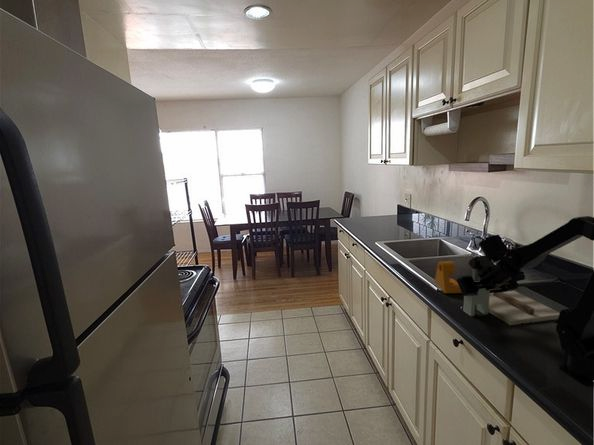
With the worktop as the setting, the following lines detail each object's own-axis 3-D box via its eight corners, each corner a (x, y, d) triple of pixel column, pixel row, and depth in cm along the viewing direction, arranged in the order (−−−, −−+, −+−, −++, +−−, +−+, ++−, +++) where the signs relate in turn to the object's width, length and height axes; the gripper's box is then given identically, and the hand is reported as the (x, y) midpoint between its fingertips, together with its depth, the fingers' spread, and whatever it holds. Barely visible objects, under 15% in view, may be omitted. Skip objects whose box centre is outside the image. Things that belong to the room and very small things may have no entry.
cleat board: (562, 318, 106) (563, 308, 105) (509, 325, 103) (510, 315, 102) (513, 293, 125) (514, 285, 124) (468, 299, 123) (468, 290, 122)
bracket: (463, 294, 126) (465, 265, 124) (444, 295, 127) (445, 266, 125) (452, 284, 137) (453, 257, 135) (434, 284, 138) (435, 257, 135)
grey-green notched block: (488, 314, 111) (490, 285, 109) (470, 316, 110) (472, 287, 108) (480, 308, 115) (481, 280, 113) (463, 310, 114) (464, 282, 112)
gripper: (514, 248, 105) (487, 269, 118) (461, 253, 103) (440, 274, 115) (532, 279, 99) (502, 298, 112) (477, 285, 96) (452, 304, 109)
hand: (473, 293), depth 112 cm, fingers closed on grey-green notched block, 6 cm apart
